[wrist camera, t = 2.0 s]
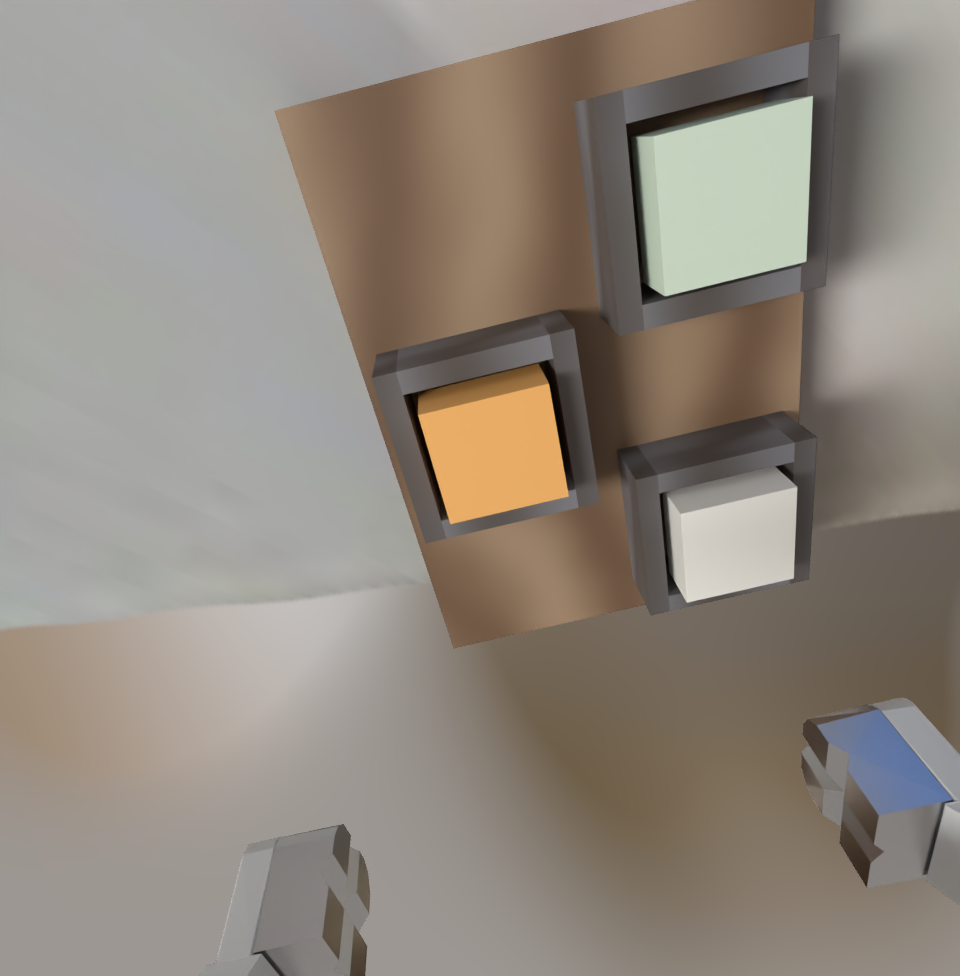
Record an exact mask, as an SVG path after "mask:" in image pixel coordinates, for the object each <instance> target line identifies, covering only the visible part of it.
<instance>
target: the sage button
mask: <svg viewBox="0 0 960 976" xmlns="http://www.w3.org/2000/svg"><path fill="white" fill-rule="evenodd" d="M812 106H813V96H807V97H798V98H789V99H780V100H773V101H769V102H765V103H762V104H758V105H754V106H750V107H746V108H742V109H738V110H734V111H730V112H726V113H722V114H719V115H715V116H711V117H707V118H703V119H699V120H695V121H691V122H687V123H683V124H679V125H675V126H672V127H668V128H664V129H660V130H656V131H652V132H648V133H644V134H640V135H636V136H632V137H631V143H632V155H633V166H634V178H635V189H636V200H637V212H638V223H639V235H640V246H641V257H642V269H643V280H644V283H645V284H646V285H648V286H649V287H651V288H653V289H654V290H656V291H657V292H659V293H660V294H662V295H663V296H669V295H673V294H677V293H681V292H685V291H689V290H693V289H697V288H701V287H705V286H709V285H714V284H718V283H722V282H726V281H730V280H734V279H738V278H742V277H746V276H750V275H754V274H758V273H762V272H766V271H771V270H775V269H779V268H783V267H787V266H791V265H795V264H799V263H803V262H806V257H807V232H808V207H809V182H810V157H811V132H812Z"/></svg>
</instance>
